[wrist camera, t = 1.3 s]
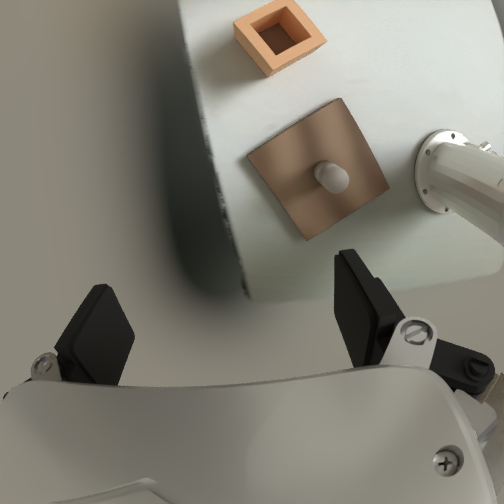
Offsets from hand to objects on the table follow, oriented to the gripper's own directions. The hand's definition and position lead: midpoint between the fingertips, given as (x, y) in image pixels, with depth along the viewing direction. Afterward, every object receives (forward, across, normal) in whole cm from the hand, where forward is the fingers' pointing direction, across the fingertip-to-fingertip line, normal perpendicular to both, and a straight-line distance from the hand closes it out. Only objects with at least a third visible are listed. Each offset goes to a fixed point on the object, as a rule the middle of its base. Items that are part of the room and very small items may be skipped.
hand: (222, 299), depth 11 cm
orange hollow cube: (+24, -7, -15) cm, 29 cm away
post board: (+24, -10, +1) cm, 26 cm away
